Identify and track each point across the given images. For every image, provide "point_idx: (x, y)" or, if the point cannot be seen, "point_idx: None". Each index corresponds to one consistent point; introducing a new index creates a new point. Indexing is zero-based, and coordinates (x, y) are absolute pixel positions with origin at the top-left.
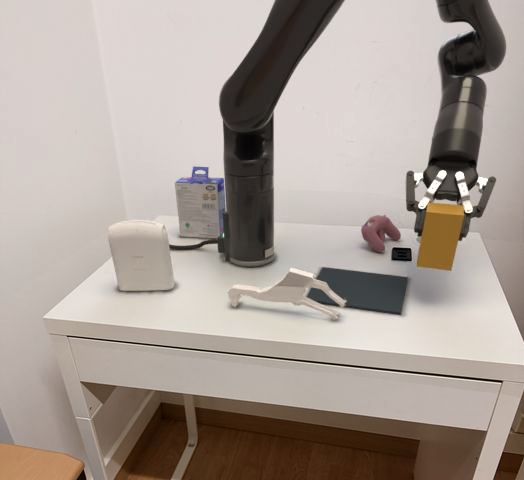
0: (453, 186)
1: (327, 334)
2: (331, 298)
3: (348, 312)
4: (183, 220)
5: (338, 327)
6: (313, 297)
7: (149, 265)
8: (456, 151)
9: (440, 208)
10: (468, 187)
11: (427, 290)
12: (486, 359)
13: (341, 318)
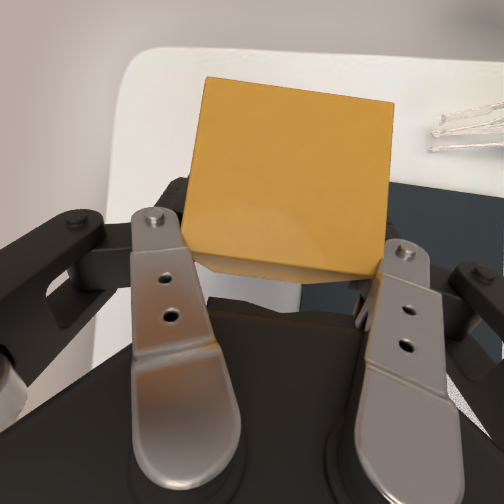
0: (242, 355)
1: (437, 89)
2: (476, 114)
3: (411, 168)
4: None
5: (422, 113)
6: (490, 207)
7: None
8: None
9: (318, 168)
10: (110, 357)
11: (253, 291)
12: (182, 50)
13: (421, 145)
